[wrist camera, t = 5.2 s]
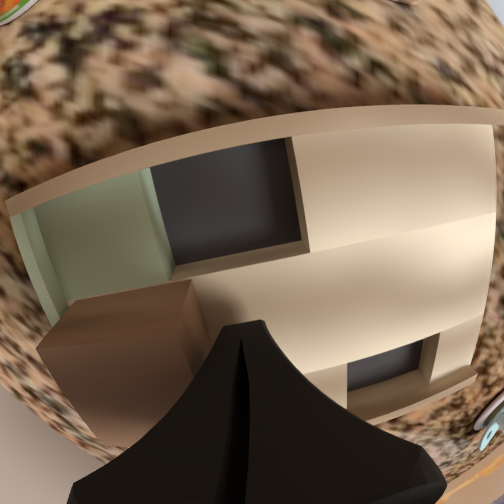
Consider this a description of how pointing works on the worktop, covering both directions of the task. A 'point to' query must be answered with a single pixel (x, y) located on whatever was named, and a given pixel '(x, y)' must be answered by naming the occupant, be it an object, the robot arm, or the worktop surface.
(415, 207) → the tray
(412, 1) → the milkshake
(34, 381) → the worktop surface
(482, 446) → the pacifier
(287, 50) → the worktop surface
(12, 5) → the supplement bottle
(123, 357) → the walnut block
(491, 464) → the worktop surface
